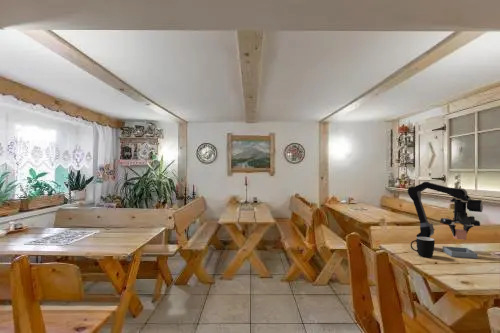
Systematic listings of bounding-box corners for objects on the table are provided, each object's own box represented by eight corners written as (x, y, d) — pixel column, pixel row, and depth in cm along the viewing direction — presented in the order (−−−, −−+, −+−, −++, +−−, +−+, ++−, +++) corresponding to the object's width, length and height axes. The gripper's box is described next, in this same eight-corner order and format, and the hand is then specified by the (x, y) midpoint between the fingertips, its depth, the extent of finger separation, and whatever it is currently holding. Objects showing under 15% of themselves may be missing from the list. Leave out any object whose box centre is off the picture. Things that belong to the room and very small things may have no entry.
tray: (451, 256, 170) (451, 251, 170) (442, 251, 182) (442, 246, 182) (477, 258, 168) (477, 253, 168) (466, 252, 179) (466, 247, 179)
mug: (434, 255, 172) (434, 238, 172) (434, 259, 165) (434, 241, 165) (410, 252, 179) (411, 235, 179) (409, 255, 171) (410, 238, 171)
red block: (456, 239, 173) (456, 230, 173) (452, 237, 178) (452, 228, 178) (466, 239, 172) (466, 231, 172) (462, 237, 177) (462, 229, 177)
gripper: (448, 211, 169) (447, 238, 169) (485, 213, 165) (485, 241, 165) (440, 208, 180) (439, 234, 180) (475, 210, 176) (474, 236, 176)
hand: (459, 236), depth 175 cm, fingers closed on red block, 5 cm apart
